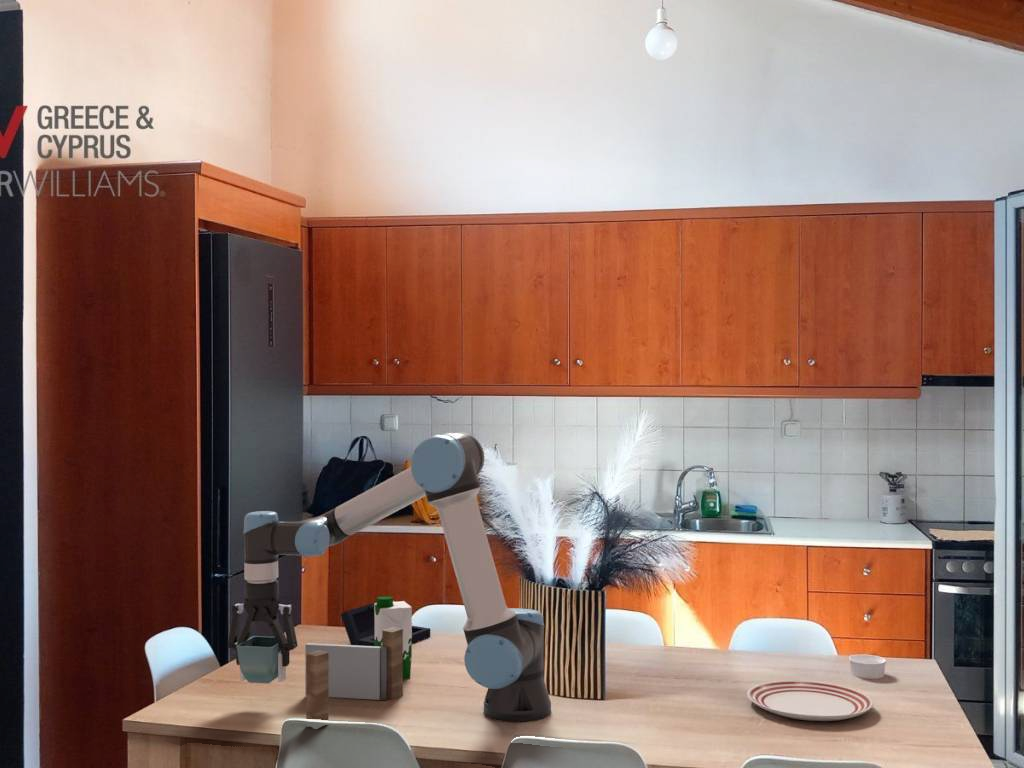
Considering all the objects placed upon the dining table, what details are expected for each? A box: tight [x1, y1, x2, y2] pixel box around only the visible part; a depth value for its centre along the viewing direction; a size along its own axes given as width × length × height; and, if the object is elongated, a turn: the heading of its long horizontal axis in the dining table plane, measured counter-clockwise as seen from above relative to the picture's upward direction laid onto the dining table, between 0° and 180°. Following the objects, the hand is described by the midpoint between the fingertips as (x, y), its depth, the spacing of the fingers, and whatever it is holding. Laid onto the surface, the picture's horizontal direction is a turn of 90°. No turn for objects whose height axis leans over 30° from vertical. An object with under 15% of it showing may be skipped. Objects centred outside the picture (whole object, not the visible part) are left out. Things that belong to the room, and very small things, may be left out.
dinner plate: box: [746, 679, 874, 722], centre depth 227 cm, size 28×27×3 cm
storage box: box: [340, 601, 431, 646], centre depth 286 cm, size 21×16×10 cm
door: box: [304, 642, 388, 701], centre depth 234 cm, size 20×3×12 cm, turn 81°
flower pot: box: [237, 635, 287, 684], centre depth 227 cm, size 9×9×9 cm
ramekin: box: [848, 653, 887, 680], centre depth 253 cm, size 9×9×4 cm
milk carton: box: [373, 595, 413, 680], centre depth 251 cm, size 9×9×20 cm
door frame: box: [305, 627, 404, 720], centre depth 224 cm, size 3×28×16 cm, turn 146°
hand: (263, 679), depth 227 cm, fingers closed on flower pot, 8 cm apart
